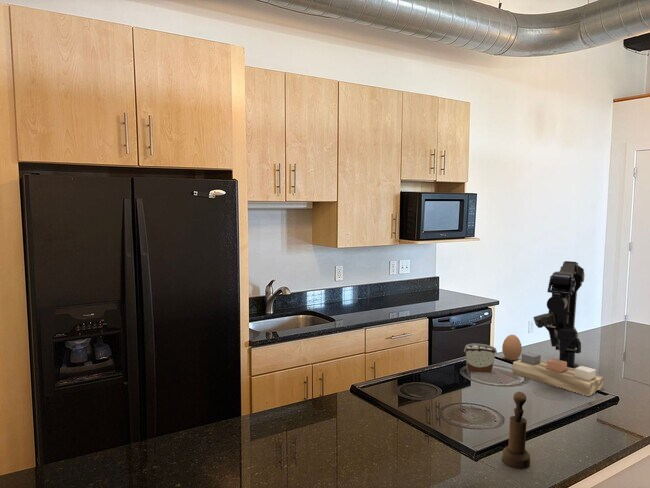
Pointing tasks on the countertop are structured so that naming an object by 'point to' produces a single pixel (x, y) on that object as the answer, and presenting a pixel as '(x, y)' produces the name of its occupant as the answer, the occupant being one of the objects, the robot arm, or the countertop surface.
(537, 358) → the charcoal key
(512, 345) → the egg
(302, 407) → the countertop surface
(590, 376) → the cream key
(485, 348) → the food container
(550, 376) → the key panel
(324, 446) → the countertop surface
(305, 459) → the countertop surface
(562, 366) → the terracotta key
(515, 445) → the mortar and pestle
